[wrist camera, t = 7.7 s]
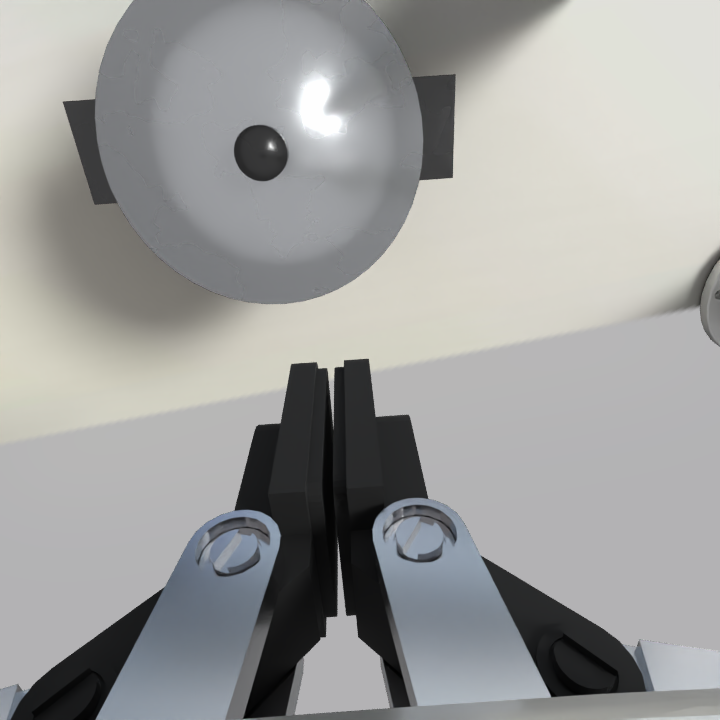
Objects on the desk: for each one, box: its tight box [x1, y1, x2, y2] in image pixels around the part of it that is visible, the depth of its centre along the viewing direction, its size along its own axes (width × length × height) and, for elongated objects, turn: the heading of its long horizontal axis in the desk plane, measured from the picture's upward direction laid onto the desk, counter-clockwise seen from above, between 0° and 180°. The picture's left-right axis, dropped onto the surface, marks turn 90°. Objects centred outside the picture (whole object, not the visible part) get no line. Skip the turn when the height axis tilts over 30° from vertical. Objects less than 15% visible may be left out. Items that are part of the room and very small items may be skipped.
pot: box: [63, 74, 455, 204], centre depth 29 cm, size 20×16×9 cm
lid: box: [95, 0, 423, 304], centre depth 24 cm, size 16×16×3 cm
